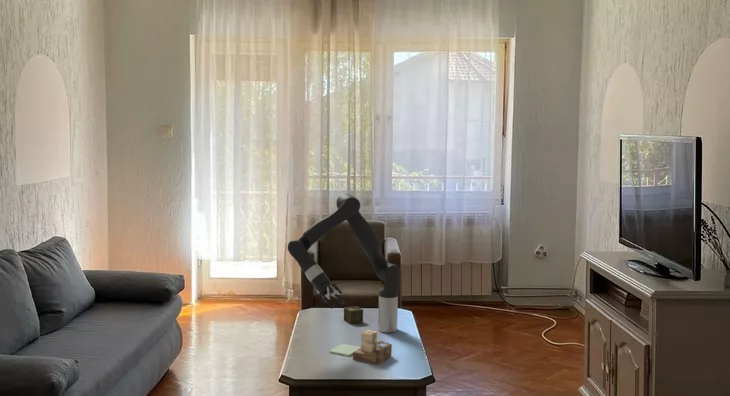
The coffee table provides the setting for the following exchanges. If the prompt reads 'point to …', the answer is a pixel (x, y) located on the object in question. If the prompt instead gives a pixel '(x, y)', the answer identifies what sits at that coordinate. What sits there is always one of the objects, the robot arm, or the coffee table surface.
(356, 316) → the olive green cube
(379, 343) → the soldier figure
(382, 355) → the walnut ledge
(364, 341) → the birch block
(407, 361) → the coffee table surface
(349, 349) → the pad
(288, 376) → the coffee table surface
